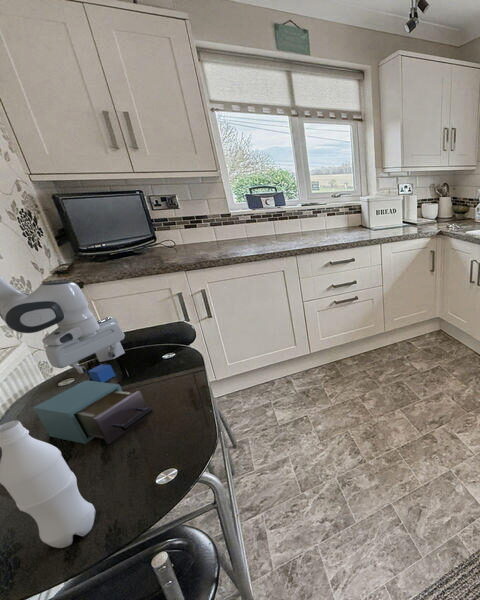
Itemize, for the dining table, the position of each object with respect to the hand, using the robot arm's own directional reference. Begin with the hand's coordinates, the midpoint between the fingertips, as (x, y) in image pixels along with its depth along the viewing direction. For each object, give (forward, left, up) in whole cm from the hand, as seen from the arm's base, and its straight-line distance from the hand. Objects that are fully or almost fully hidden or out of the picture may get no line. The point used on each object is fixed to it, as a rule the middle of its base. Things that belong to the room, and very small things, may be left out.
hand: (98, 364), depth 111 cm
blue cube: (0, 0, -6) cm, 6 cm away
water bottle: (+55, -41, -6) cm, 69 cm away
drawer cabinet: (+23, -18, -6) cm, 30 cm away
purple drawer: (+34, -18, -5) cm, 39 cm away
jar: (-14, +12, -6) cm, 19 cm away
